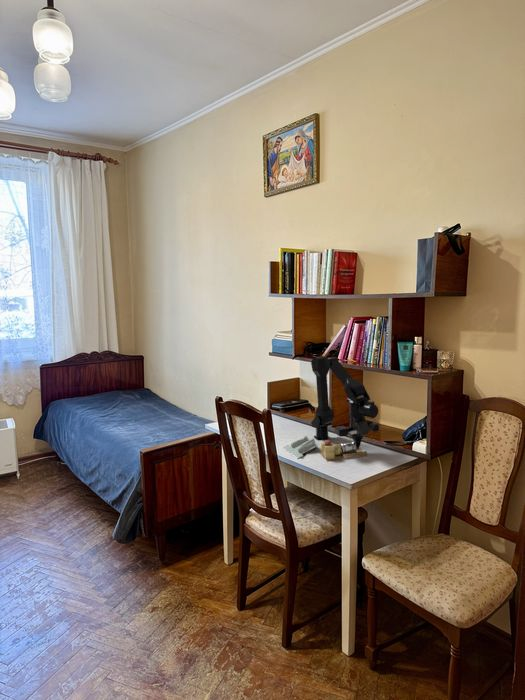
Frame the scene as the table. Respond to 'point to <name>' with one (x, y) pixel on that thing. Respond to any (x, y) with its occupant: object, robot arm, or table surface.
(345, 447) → the cylinder
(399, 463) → the table surface
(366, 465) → the table surface
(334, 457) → the wooden channel tray
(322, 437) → the robot arm
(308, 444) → the metal bracket
